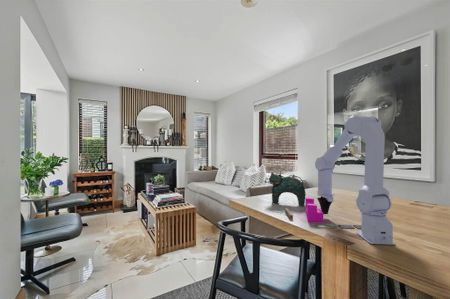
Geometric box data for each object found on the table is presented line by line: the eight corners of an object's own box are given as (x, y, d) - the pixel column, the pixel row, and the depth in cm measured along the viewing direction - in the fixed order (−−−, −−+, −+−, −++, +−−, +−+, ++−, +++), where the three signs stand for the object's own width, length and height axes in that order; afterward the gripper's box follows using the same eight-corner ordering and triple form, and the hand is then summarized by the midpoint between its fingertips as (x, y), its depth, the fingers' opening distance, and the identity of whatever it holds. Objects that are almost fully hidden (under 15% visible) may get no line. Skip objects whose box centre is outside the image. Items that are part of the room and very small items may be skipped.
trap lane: (370, 229, 86) (370, 224, 86) (294, 226, 89) (294, 222, 89) (346, 213, 107) (346, 209, 107) (285, 212, 110) (285, 208, 110)
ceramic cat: (268, 203, 127) (268, 169, 127) (271, 201, 133) (271, 168, 133) (305, 207, 119) (305, 170, 119) (305, 204, 125) (305, 169, 125)
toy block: (323, 223, 94) (323, 206, 94) (307, 222, 95) (307, 204, 95) (319, 213, 108) (319, 198, 108) (305, 212, 110) (305, 197, 110)
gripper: (340, 186, 93) (340, 219, 93) (327, 181, 107) (327, 209, 107) (323, 186, 93) (323, 218, 93) (313, 181, 108) (313, 209, 108)
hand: (324, 213), depth 100 cm, fingers closed
